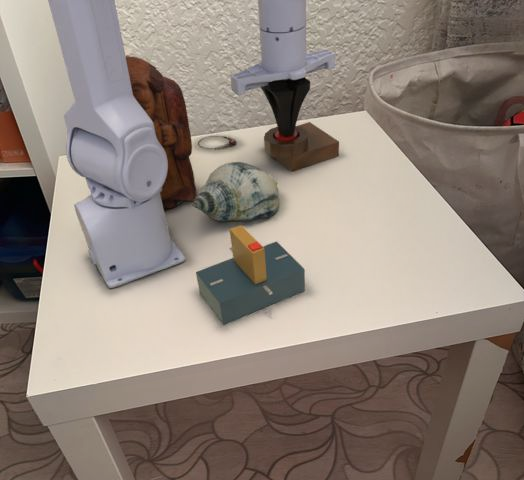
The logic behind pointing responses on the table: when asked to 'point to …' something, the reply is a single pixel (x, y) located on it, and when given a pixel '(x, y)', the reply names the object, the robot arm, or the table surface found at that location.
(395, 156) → the table surface
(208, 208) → the seashell
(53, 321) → the table surface
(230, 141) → the necklace
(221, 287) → the plate
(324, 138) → the button block
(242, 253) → the tap handle
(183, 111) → the wooden figurine
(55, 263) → the table surface
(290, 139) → the button
